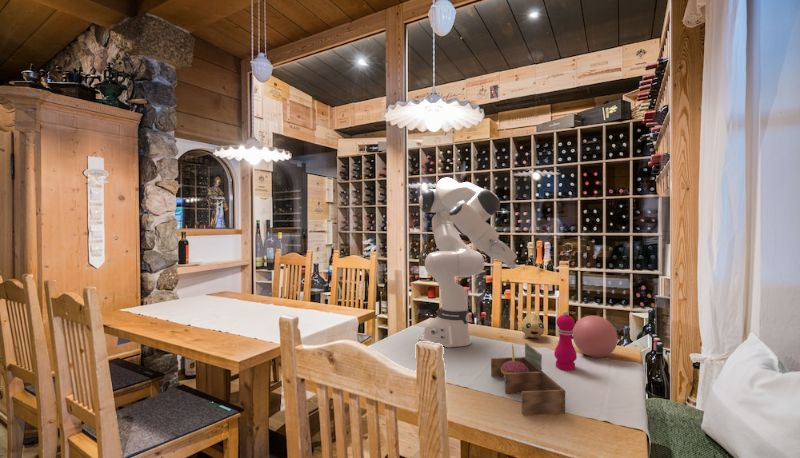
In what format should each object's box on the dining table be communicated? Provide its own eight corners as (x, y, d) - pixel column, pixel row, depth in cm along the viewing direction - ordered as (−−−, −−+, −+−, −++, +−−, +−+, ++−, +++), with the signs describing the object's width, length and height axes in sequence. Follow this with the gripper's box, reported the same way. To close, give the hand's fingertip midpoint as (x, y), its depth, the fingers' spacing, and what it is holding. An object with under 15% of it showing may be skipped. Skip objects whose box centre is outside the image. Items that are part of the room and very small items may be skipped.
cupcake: (497, 379, 128) (497, 342, 128) (522, 378, 129) (522, 341, 129) (506, 390, 120) (506, 351, 120) (533, 389, 121) (533, 350, 120)
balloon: (599, 346, 162) (599, 308, 162) (625, 363, 142) (626, 321, 142) (561, 345, 163) (561, 308, 162) (582, 363, 143) (583, 321, 142)
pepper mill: (552, 363, 143) (552, 308, 142) (573, 364, 142) (573, 309, 141) (556, 370, 136) (557, 312, 135) (579, 371, 134) (579, 313, 134)
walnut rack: (522, 414, 105) (522, 373, 104) (491, 375, 131) (491, 343, 131) (565, 412, 106) (565, 372, 106) (525, 374, 132) (525, 342, 132)
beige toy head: (522, 341, 168) (523, 317, 168) (519, 333, 180) (519, 310, 180) (547, 343, 166) (547, 318, 166) (542, 334, 178) (542, 311, 178)
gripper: (502, 234, 128) (531, 263, 129) (483, 232, 149) (508, 257, 150) (489, 247, 128) (518, 277, 129) (472, 244, 148) (497, 269, 149)
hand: (513, 266), depth 139 cm, fingers closed
